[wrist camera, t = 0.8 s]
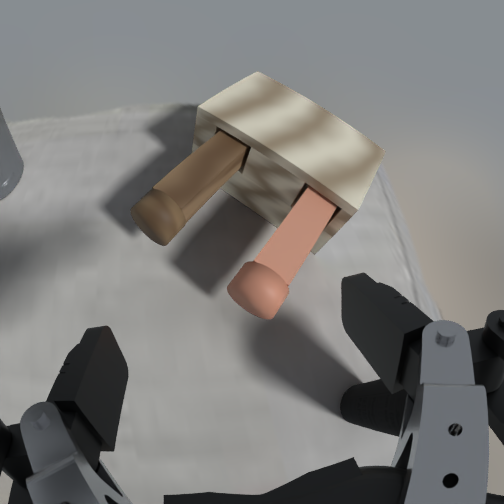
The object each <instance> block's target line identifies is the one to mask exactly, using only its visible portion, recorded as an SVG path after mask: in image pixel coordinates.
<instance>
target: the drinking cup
mask: <svg viewBox="0 0 504 504" xmlns="http://www.w3.org/2000/svg"><path fill="white" fill-rule="evenodd" d="M407 394H408V393H407V392H406V390H405V389H402V390H400V391H398V392H396V393H393V394H391V392H390V391H389V390H388V388H387V387H386V385H385V384H384V383H383V381H382V380H381V379H379V380H375V381H371V382H367V383H363V384H358V385H355V386H352V387H351V388H349V389H348V390H347V391H346V392H345V394H344V395H343V397H342V400H341V413H342V415H343V417H344V418H345V420H347V421H348V422H350V423H352V424H356V425H359V426H362V427H366V428H369V429H372V430H376V431H379V432H383V433H387V434H391V435H394V436H398V437H399V435H400V430H401V425H402V420H403V414H404V408H405V402H406V397H407Z"/></svg>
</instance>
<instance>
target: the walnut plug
mask: <svg viewBox="0 0 504 504" xmlns="http://www.w3.org/2000/svg"><path fill="white" fill-rule="evenodd" d="M250 149H251V147H250V146H249V145H247V144H246V143H244V142H242V141H241V140H239V139H237V138H236V137H234V136H232V135H231V134H229V133H227V132H226V131H224V130H221V131H219V132H218V133H217V134H215V135H214V136H213V137H212V138H210V139H209V140H208V141H207V142H205V143H204V144H203V145H202V146H200V147H199V148H198V149H197V150H195V151H194V152H193V153H192V154H191V155H189V156H188V157H187V158H186V159H185V160H183V161H182V162H181V163H180V164H179V165H177V166H176V167H175V168H174V169H173V170H172V171H170V172H169V173H168V174H167V175H166V176H165V177H164V178H162V179H161V180H160V181H159V182H158V183H157V184H156V185H155V186H154V187H152V190H150V191H149V192H148V193H147V194H146V195H145V196H144V197H143V198H142V199H141V200H140V201H139V202H137V203H136V204H135V205H134V206H133V207H132V208H131V215H132V218H133V220H134V221H135V223H136V224H137V226H138V227H139V228H140V229H141V231H142V232H143V233H144V234H145V235H146V236H148V237H149V238H150V239H151V240H153V241H154V242H156V243H157V244H159V245H162V246H166V245H167V244H168V243H169V242H170V241H171V240H172V239H173V238H174V237H175V236H176V235H177V233H178V232H179V231H180V230H181V229H182V228H183V227H184V226H185V224H186V223H187V221H188V220H189V219H190V218H191V217H192V216H193V215H194V214H195V213H196V212H197V211H198V210H199V209H200V208H201V207H202V206H203V205H204V204H205V203H206V202H207V201H208V200H209V199H210V198H211V197H212V196H213V195H214V194H215V193H216V192H217V191H218V190H219V189H220V188H221V187H222V186H223V185H224V184H225V183H226V182H227V181H228V180H229V179H230V178H231V177H232V176H233V175H234V174H235V173H236V172H237V171H238V170H239V169H240V168H241V167H242V166H243V165H244V164H245V163H246V161H247V158H248V155H249V152H250Z"/></svg>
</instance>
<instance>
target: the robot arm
mask: <svg viewBox="0 0 504 504" xmlns="http://www.w3.org/2000/svg"><path fill="white" fill-rule="evenodd" d="M23 167H24V165H23V160H22V158H21V156H20V154H19V151H18V149H17V147H16V145H15V142H14V140H13V138H12V136H11V133H10V131H9V128H8V126H7V124H6V121H5V119H4V116H3V114H2V111H1V108H0V200H1V199H3V198H4V197H6V196H7V195H8V194H9V193H10V192H11V191H12V190H13V189H14V187H15V186H16V185H17V183H18V182H19V180H20V178H21V175H22V172H23ZM341 293H342V323H343V326H344V329H345V331H346V333H347V334H348V336H349V337H350V338H351V340H352V341H353V342H354V344H355V345H356V346H357V348H358V349H359V350H360V352H361V353H362V354H363V356H364V357H365V358H366V360H367V361H368V362H369V364H370V365H371V366H372V368H373V369H374V370H375V372H376V373H377V375H378V376H379V377H380V379H381V380H382V381H383V383H384V384H385V385H386V387H387V388H388V390H389V391H390V392H391V394H393V393H396V392H398V391H400V390H402V389H405V390H406V392H407V393H408V394H407V397H406V402H405V408H404V414H403V420H402V425H401V430H400V435H399V440H398V445H397V449H396V452H395V455H394V458H393V461H392V464H391V467H389V466H364V467H358V465H357V463H356V461H355V459H354V457H353V458H350V459H348V460H345V461H342V462H339V463H336V464H333V465H331V466H327V467H324V468H321V469H318V470H315V471H311V472H308V473H306V474H304V475H302V476H301V477H299V478H297V479H295V480H293V481H291V482H289V483H287V484H285V485H282V486H280V487H278V488H276V489H274V490H272V491H269V492H267V493H265V494H261V495H242V494H225V493H213V492H205V493H194V494H180V495H164V504H504V496H501V495H496V494H491V493H487V482H488V462H489V461H488V460H489V430H488V429H489V428H488V425H489V426H490V428H491V429H492V430H493V431H494V433H495V434H496V435H497V437H498V438H499V440H500V441H501V442H502V444H503V445H504V310H497V311H493V312H491V313H490V314H489V315H488V317H487V320H486V323H485V327H484V328H480V329H475V330H470V331H466V330H465V329H464V328H463V327H462V326H461V325H459V324H457V323H455V322H452V321H446V320H439V321H433V320H431V319H430V318H429V317H428V316H427V315H425V314H424V313H423V312H422V311H421V310H420V309H418V308H417V307H416V306H415V305H414V304H412V303H411V302H410V303H409V300H407V299H406V298H405V297H404V296H402V295H401V294H400V293H399V292H398V291H396V290H395V289H394V288H393V287H390V286H388V285H385V284H383V283H376V282H375V281H374V280H373V279H372V278H370V277H369V276H368V275H367V274H365V273H360V274H356V275H352V276H348V277H344V278H343V279H342V283H341ZM63 364H64V366H62V368H61V370H60V374H58V376H57V378H56V380H55V382H54V385H53V387H52V389H51V391H50V393H49V396H48V398H47V400H46V402H39V403H37V404H34V405H33V406H31V407H30V408H28V409H27V410H26V412H25V413H24V414H23V416H22V418H21V421H20V423H18V424H14V425H10V426H6V425H5V424H4V423H3V422H2V421H1V419H0V475H1V472H2V471H3V472H4V473H6V474H7V475H8V476H9V477H10V478H11V479H12V480H13V483H12V488H11V492H10V497H9V502H8V504H133V503H132V502H131V501H130V500H129V499H128V497H127V496H126V495H125V493H124V492H123V491H122V489H121V488H120V486H119V485H118V484H117V482H116V481H115V479H114V478H113V476H112V475H111V474H110V472H109V471H108V469H107V468H106V466H105V465H104V463H103V462H102V461H101V460H100V458H99V457H100V451H114V449H115V442H116V436H117V431H118V425H119V420H120V414H121V409H122V404H123V399H124V395H125V390H126V385H127V381H128V367H127V363H126V361H125V358H124V356H123V354H122V352H121V350H120V348H119V346H118V344H117V341H116V339H115V337H114V335H113V333H112V331H111V329H110V328H109V327H108V326H101V327H94V328H88V329H87V330H86V331H85V333H84V335H83V337H82V339H81V341H80V343H79V344H77V345H76V346H75V347H74V348H73V349H72V350H71V351H70V352H69V353H68V355H67V357H66V359H65V361H64V363H63Z"/></svg>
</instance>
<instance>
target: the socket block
mask: <svg viewBox="0 0 504 504" xmlns="http://www.w3.org/2000/svg"><path fill="white" fill-rule="evenodd" d="M221 130H224V131H226V132H227V133H229V134H231V135H232V136H234V137H236V138H237V139H239V140H241V141H242V142H244V143H246V144H247V145H249V146H250V147H251V149H250V152H249V155H248V158H247V161H246V163H245V164H244V165H243V166H242V167H241V168H240V169H239V170H238V171H237V172H236V173H235V174H234V175H233V176H232V177H231V178H230V179H229V180H228V181H227V182H226V183H225V184H224V185H223V186H222V187H221V189H222V190H224V191H225V192H227V193H228V194H230V195H231V196H233V197H234V198H235V199H237V200H238V201H240V202H241V203H243V204H244V205H246V206H247V207H249V208H250V209H251V210H253V211H254V212H256V213H257V214H259V215H260V216H262V217H263V218H264V219H266V220H267V221H269V222H270V223H272V224H273V225H274V226H276V227H277V228H278V227H279V226H280V224H281V223H282V222H283V220H284V219H285V218H286V216H287V215H288V214H289V212H290V211H291V210H292V208H293V207H294V206H295V204H296V203H297V201H298V200H299V199H300V197H301V196H302V195H303V193H304V192H305V191H306V189H307V188H308V187H309V185H310V186H311V187H312V188H314V189H315V190H317V191H318V192H319V193H321V194H322V195H324V196H325V197H326V198H328V199H329V200H331V201H332V202H333V203H335V204H336V205H338V206H337V208H336V209H335V211H334V213H333V214H332V216H331V218H330V219H329V221H328V223H327V224H326V226H325V228H324V229H323V231H322V233H321V234H320V236H319V238H318V239H317V241H316V243H315V244H314V246H313V248H312V249H311V252H312V253H314V254H316V253H317V252H318V251H319V250H320V249H321V248H322V247H323V246H324V245H325V244H326V243H327V242H328V241H329V240H330V239H331V238H332V237H333V236H334V235H335V234H336V233H337V232H338V231H339V230H340V229H341V228H342V226H343V225H344V224H345V223H346V222H347V221H348V220H349V219H350V218H351V217H352V216H353V215H354V214H355V213H356V212H357V211H358V209H359V207H360V205H361V203H362V201H363V199H364V197H365V195H366V193H367V191H368V189H369V187H370V185H371V183H372V181H373V178H374V176H375V174H376V172H377V170H378V168H379V165H380V163H381V161H382V159H383V156H384V154H385V151H384V150H383V149H382V148H380V147H379V146H378V145H376V144H375V143H373V142H372V141H371V140H370V139H368V138H367V137H365V136H364V135H363V134H361V133H360V132H358V131H357V130H356V129H354V128H353V127H351V126H350V125H348V124H347V123H345V122H344V121H342V120H341V119H339V118H338V117H336V116H335V115H333V114H331V113H330V112H328V111H327V110H325V109H323V108H322V107H320V106H319V105H317V104H316V103H314V102H312V101H310V100H309V99H307V98H306V97H304V96H302V95H300V94H299V93H297V92H295V91H294V90H292V89H290V88H288V87H286V86H285V85H283V84H281V83H279V82H277V81H275V80H273V79H271V78H270V77H268V76H266V75H264V74H262V73H260V72H258V71H257V72H255V73H253V74H252V75H250V76H248V77H246V78H244V79H242V80H241V81H239V82H237V83H235V84H234V85H232V86H230V87H228V88H227V89H225V90H223V91H222V92H220V93H218V94H217V95H215V96H213V97H212V98H211V99H209V100H207V101H206V102H204V103H202V104H201V105H199V106H198V108H197V115H196V123H195V130H194V138H193V146H192V153H193V152H194V151H195V150H197V149H198V148H199V147H200V146H202V145H203V144H204V143H205V142H207V141H208V140H209V139H210V138H212V137H213V136H214V135H215V134H217V133H218V132H219V131H221Z"/></svg>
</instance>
